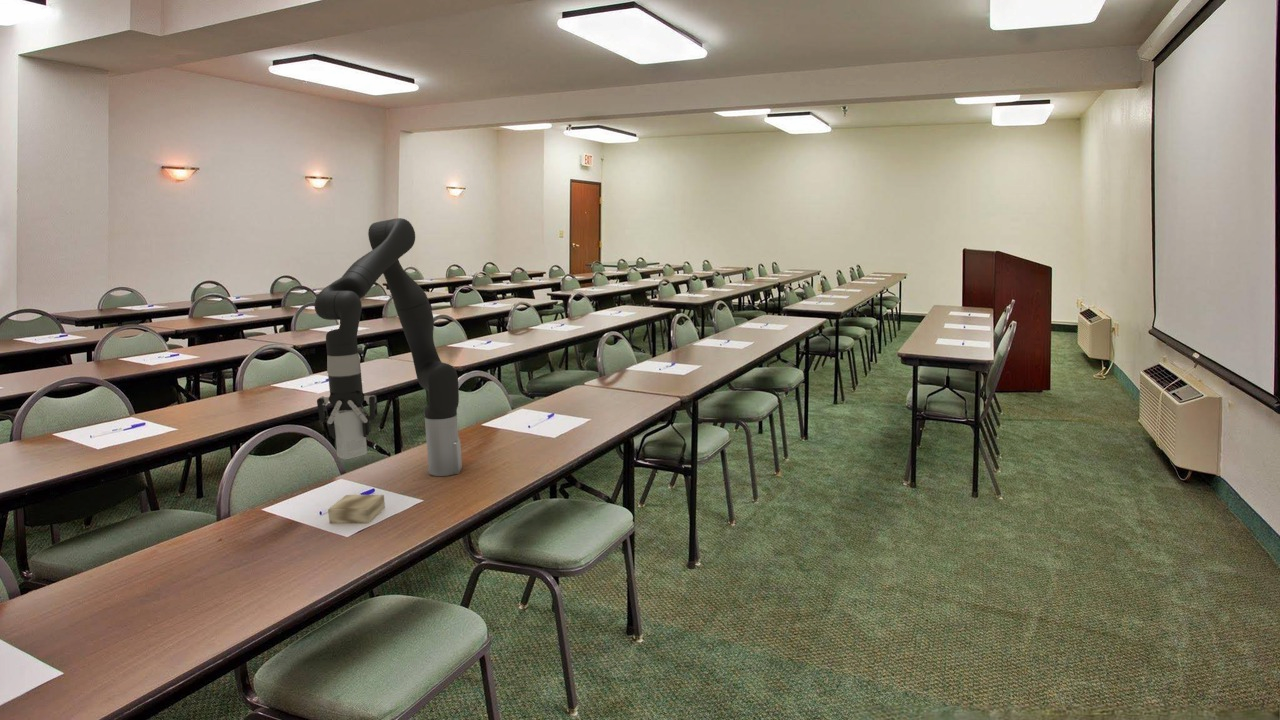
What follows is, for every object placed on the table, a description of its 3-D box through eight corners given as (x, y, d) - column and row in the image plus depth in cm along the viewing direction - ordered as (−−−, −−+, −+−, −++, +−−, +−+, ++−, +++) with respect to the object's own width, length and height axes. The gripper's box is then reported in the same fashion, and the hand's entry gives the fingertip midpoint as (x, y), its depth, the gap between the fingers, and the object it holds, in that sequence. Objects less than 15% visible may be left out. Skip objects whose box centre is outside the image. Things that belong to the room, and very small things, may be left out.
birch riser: (385, 509, 191) (383, 494, 190) (368, 524, 181) (367, 508, 180) (347, 509, 191) (346, 494, 190) (329, 524, 181) (327, 508, 181)
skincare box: (359, 451, 187) (355, 405, 185) (368, 454, 184) (364, 407, 182) (336, 457, 182) (331, 410, 180) (345, 460, 179) (340, 412, 177)
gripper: (378, 368, 184) (384, 431, 187) (319, 370, 183) (326, 434, 185) (370, 374, 176) (375, 440, 179) (308, 376, 175) (315, 442, 178)
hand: (350, 437), depth 182 cm, fingers closed on skincare box, 7 cm apart
